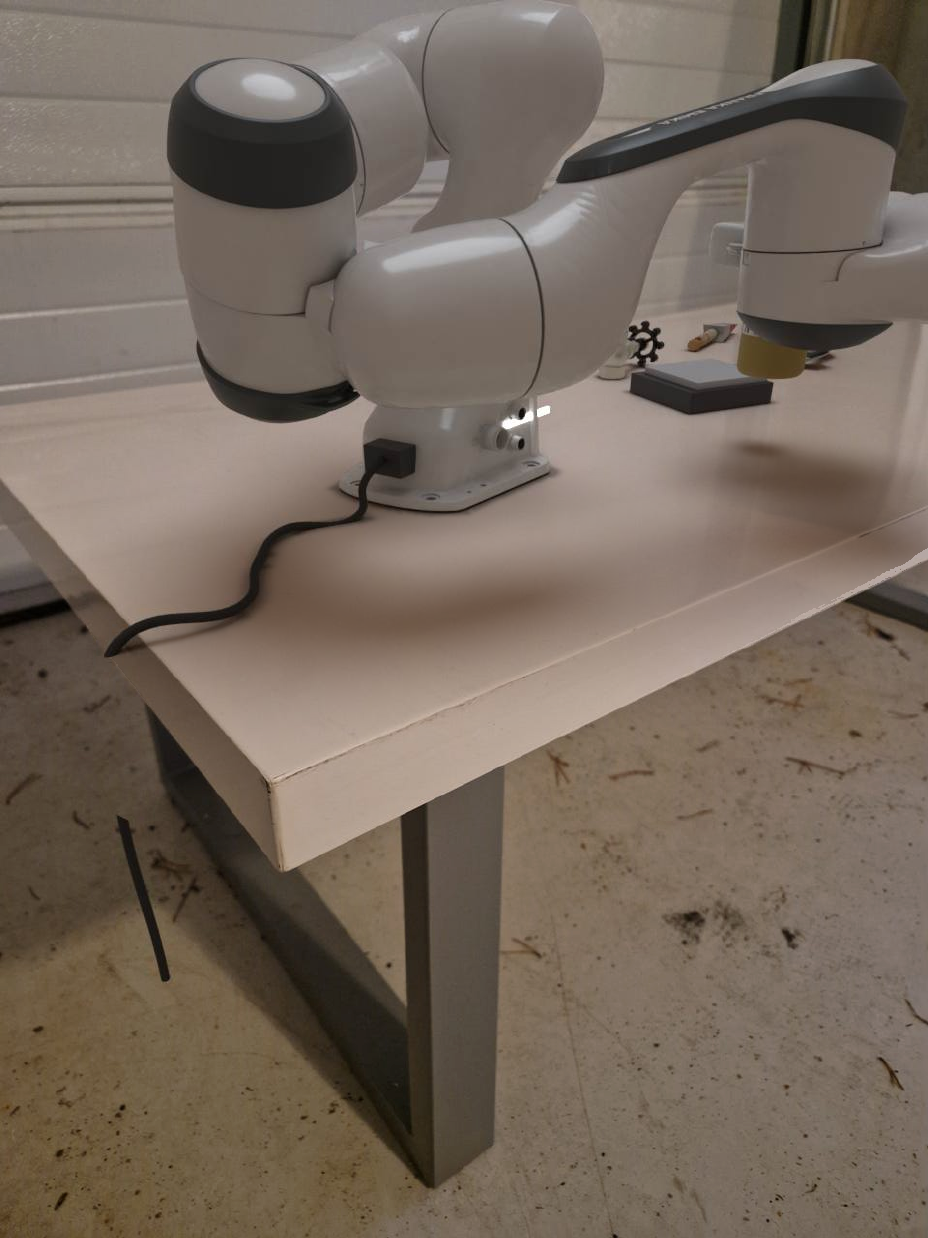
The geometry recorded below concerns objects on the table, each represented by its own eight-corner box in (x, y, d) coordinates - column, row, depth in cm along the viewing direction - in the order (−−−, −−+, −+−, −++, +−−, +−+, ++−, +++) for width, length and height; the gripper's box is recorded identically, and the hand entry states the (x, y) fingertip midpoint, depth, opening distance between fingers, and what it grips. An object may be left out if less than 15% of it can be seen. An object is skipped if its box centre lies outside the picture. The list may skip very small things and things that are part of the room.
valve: (625, 382, 118) (662, 367, 127) (628, 334, 115) (667, 322, 123) (584, 376, 122) (623, 362, 130) (587, 329, 119) (627, 318, 127)
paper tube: (750, 364, 91) (791, 98, 79) (812, 372, 88) (864, 93, 76) (724, 375, 87) (763, 94, 75) (789, 384, 83) (840, 89, 71)
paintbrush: (742, 315, 150) (703, 338, 135) (740, 331, 151) (702, 355, 137) (721, 313, 151) (681, 335, 137) (719, 329, 153) (679, 352, 139)
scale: (689, 414, 103) (692, 385, 101) (629, 391, 113) (631, 365, 112) (770, 402, 108) (775, 375, 106) (706, 382, 118) (709, 356, 116)
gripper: (737, 292, 70) (681, 274, 82) (962, 286, 72) (876, 269, 84) (748, 209, 67) (689, 203, 79) (983, 205, 69) (890, 200, 81)
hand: (787, 237), depth 82 cm, fingers closed on paper tube, 7 cm apart
